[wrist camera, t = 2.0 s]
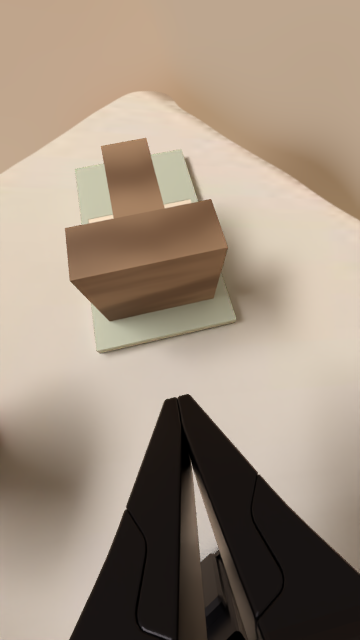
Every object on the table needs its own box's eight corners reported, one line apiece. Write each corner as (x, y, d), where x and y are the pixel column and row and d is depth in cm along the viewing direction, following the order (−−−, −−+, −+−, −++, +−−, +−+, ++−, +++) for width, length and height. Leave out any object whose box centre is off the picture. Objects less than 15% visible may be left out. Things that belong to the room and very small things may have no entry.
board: (234, 322, 23) (236, 319, 22) (100, 353, 22) (96, 351, 21) (181, 157, 30) (181, 149, 29) (78, 176, 29) (74, 168, 28)
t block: (213, 298, 23) (227, 247, 15) (109, 321, 22) (69, 280, 14) (186, 208, 26) (187, 130, 18) (96, 226, 25) (58, 153, 18)
